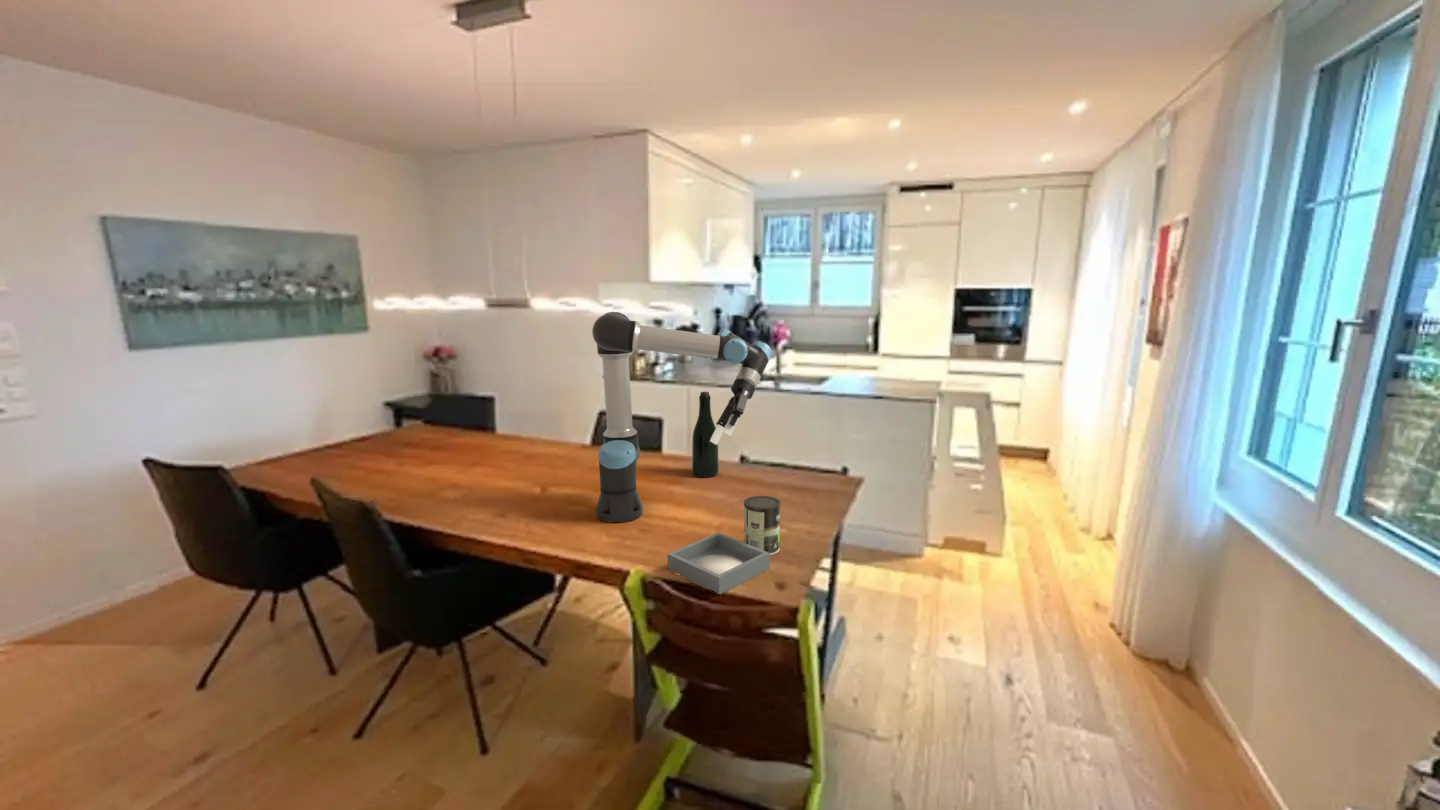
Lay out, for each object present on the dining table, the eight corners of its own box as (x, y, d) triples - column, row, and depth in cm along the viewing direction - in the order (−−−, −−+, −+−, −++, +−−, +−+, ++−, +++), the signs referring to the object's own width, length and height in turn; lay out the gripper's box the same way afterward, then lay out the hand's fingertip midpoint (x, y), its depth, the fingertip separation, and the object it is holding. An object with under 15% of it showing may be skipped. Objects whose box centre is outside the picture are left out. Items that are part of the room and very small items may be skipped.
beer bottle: (694, 469, 244) (693, 389, 237) (719, 470, 243) (719, 389, 236) (690, 478, 234) (689, 394, 227) (717, 478, 233) (717, 394, 226)
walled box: (719, 595, 146) (719, 578, 146) (667, 569, 159) (667, 553, 159) (769, 568, 160) (769, 552, 159) (718, 547, 173) (718, 532, 172)
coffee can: (778, 541, 177) (779, 495, 174) (781, 556, 167) (782, 508, 164) (743, 540, 177) (743, 495, 174) (743, 556, 167) (744, 508, 164)
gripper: (769, 378, 190) (743, 436, 182) (742, 399, 213) (717, 451, 205) (749, 367, 188) (721, 424, 181) (723, 388, 211) (698, 440, 204)
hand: (719, 439), depth 193 cm, fingers open, 13 cm apart
